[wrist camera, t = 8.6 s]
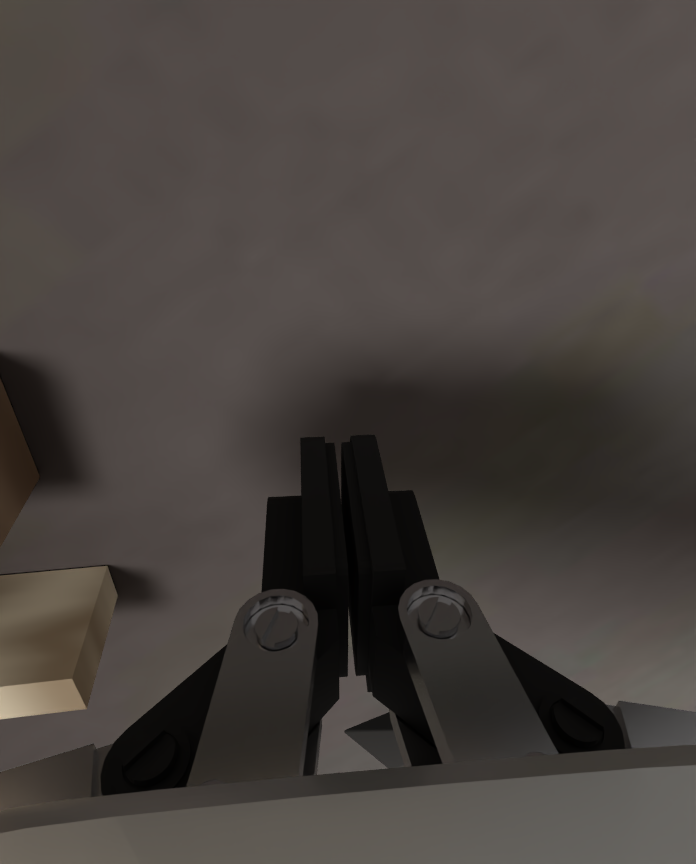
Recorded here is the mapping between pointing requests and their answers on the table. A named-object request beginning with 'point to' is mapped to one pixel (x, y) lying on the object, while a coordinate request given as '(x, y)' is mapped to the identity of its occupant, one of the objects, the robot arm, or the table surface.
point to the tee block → (13, 467)
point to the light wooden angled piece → (52, 638)
